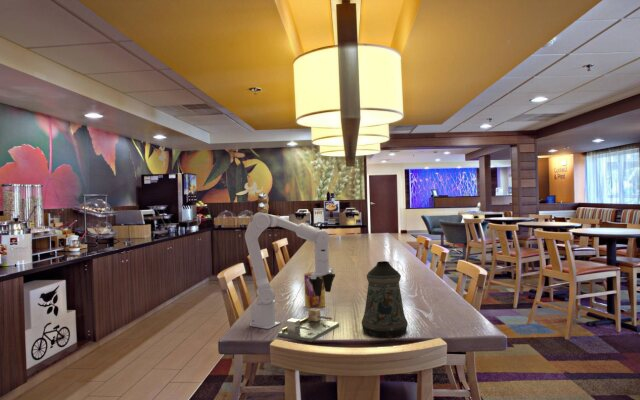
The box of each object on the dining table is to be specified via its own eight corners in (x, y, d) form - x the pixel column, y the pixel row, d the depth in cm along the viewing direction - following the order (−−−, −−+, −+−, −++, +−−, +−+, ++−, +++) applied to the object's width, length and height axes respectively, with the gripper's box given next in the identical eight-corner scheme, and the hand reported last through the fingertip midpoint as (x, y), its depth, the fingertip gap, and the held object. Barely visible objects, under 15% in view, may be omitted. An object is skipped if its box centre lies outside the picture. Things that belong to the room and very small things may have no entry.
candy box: (324, 304, 195) (323, 271, 195) (325, 306, 191) (324, 272, 191) (305, 305, 194) (303, 272, 194) (305, 308, 190) (304, 273, 190)
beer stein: (367, 340, 146) (364, 267, 145) (356, 323, 165) (354, 259, 165) (414, 337, 147) (411, 265, 147) (398, 320, 167) (396, 257, 166)
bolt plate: (278, 335, 153) (277, 329, 153) (309, 320, 170) (308, 315, 170) (310, 342, 146) (310, 335, 146) (339, 325, 163) (339, 320, 163)
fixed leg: (287, 331, 154) (286, 320, 154) (292, 329, 157) (291, 318, 157) (309, 335, 149) (308, 324, 149) (314, 333, 152) (313, 321, 152)
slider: (308, 320, 166) (308, 310, 166) (312, 318, 169) (312, 308, 169) (329, 323, 161) (329, 313, 161) (333, 321, 163) (333, 311, 163)
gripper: (321, 263, 163) (322, 298, 163) (339, 257, 176) (340, 290, 176) (305, 262, 167) (306, 297, 167) (324, 257, 179) (325, 289, 180)
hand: (323, 293), depth 172 cm, fingers open, 7 cm apart
